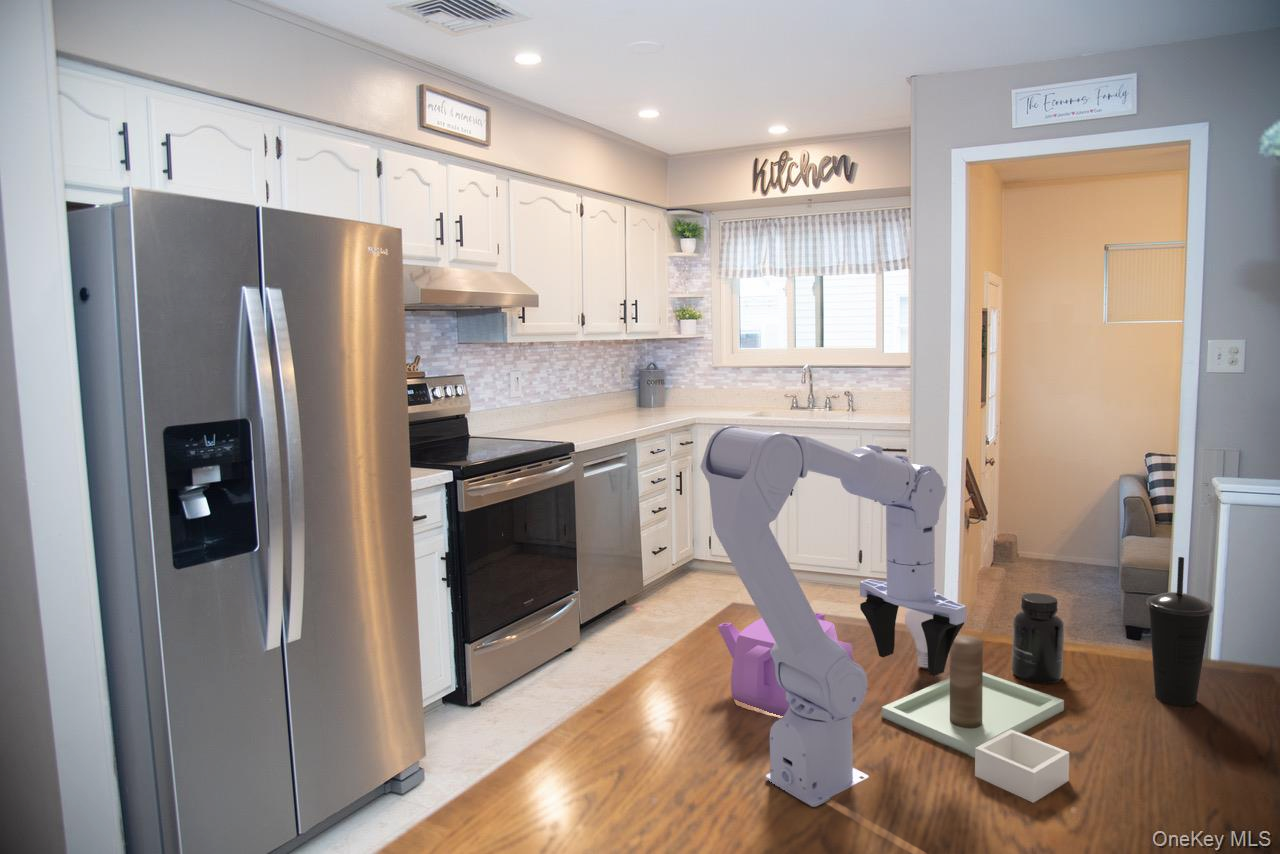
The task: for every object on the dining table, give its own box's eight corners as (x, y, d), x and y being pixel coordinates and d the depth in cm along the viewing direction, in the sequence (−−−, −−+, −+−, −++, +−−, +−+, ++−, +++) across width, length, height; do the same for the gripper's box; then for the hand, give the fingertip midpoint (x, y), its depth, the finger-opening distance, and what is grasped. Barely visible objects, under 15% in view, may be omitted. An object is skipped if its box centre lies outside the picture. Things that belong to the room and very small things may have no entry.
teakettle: (746, 731, 115) (745, 641, 114) (716, 679, 132) (714, 601, 130) (868, 717, 118) (868, 630, 116) (823, 668, 134) (822, 591, 133)
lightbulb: (895, 665, 134) (896, 596, 133) (927, 657, 137) (927, 589, 136) (925, 680, 129) (925, 608, 127) (957, 671, 131) (958, 601, 130)
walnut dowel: (970, 731, 111) (971, 649, 109) (943, 720, 114) (943, 640, 113) (988, 721, 113) (989, 640, 112) (961, 711, 116) (961, 632, 115)
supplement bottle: (1009, 680, 127) (1011, 601, 126) (1014, 663, 133) (1015, 588, 132) (1061, 688, 124) (1063, 607, 123) (1063, 670, 130) (1065, 593, 129)
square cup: (1033, 807, 95) (1034, 773, 95) (974, 780, 101) (975, 747, 100) (1068, 785, 99) (1069, 752, 99) (1010, 760, 105) (1010, 729, 104)
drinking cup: (1189, 686, 123) (1196, 549, 121) (1220, 711, 116) (1227, 565, 113) (1133, 686, 124) (1138, 550, 121) (1159, 710, 116) (1165, 565, 114)
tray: (974, 762, 105) (975, 746, 105) (881, 721, 116) (881, 706, 116) (1063, 714, 116) (1064, 700, 116) (971, 681, 128) (971, 668, 127)
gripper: (982, 564, 104) (981, 673, 105) (884, 541, 115) (885, 639, 117) (945, 576, 100) (945, 689, 101) (848, 552, 111) (849, 653, 113)
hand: (910, 663), depth 109 cm, fingers open, 7 cm apart
